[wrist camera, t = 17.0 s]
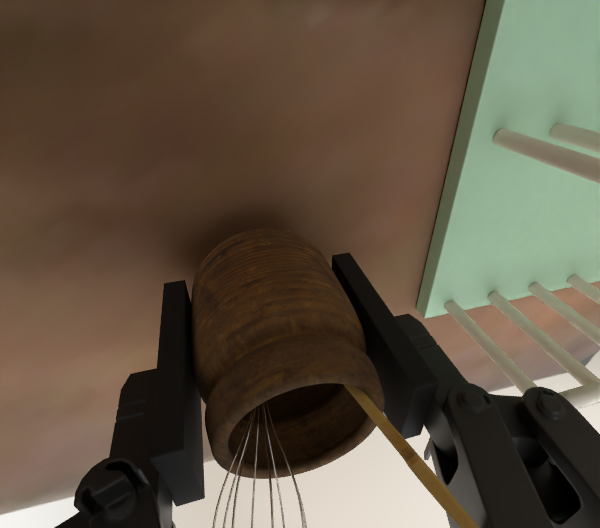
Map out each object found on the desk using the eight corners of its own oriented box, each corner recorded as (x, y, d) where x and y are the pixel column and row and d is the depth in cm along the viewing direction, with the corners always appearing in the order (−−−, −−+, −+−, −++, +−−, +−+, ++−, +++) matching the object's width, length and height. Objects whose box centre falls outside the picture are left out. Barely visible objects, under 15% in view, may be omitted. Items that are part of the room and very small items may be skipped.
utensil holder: (157, 276, 14) (88, 862, 4) (291, 188, 13) (568, 646, 4) (243, 348, 17) (310, 752, 8) (351, 283, 17) (567, 635, 7)
